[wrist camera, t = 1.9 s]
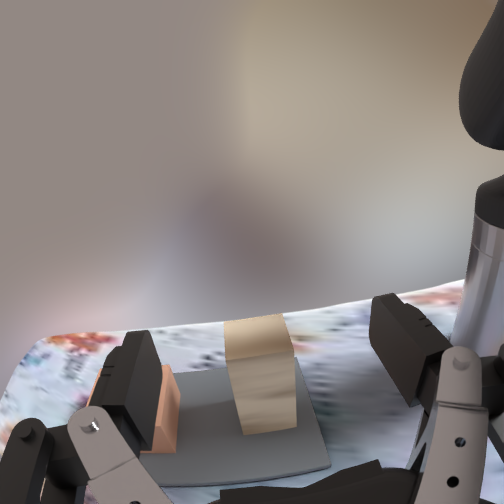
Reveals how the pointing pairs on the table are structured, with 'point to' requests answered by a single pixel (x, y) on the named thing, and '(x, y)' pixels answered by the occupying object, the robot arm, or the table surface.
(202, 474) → the build mat
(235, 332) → the pillar
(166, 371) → the base block
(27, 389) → the table surface
